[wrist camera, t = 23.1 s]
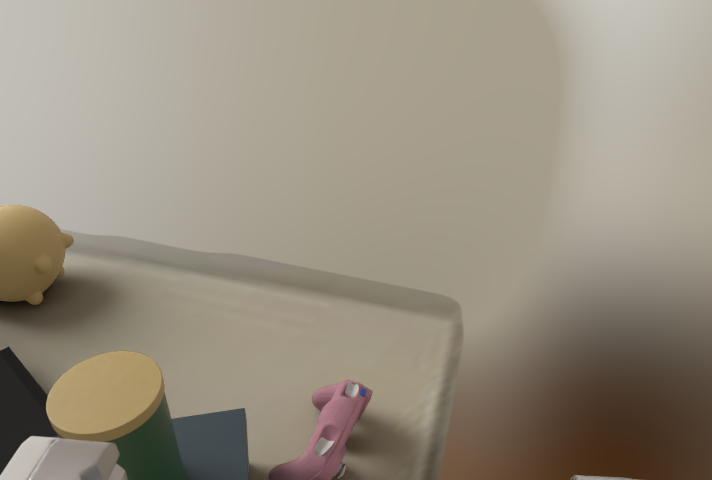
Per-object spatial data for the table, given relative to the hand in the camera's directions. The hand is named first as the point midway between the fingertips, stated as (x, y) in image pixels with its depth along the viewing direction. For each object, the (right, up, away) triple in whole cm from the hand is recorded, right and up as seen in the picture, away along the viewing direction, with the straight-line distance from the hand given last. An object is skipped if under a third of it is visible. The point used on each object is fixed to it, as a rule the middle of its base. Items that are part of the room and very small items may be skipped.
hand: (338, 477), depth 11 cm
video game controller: (-2, -13, +38) cm, 41 cm away
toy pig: (-37, -2, +56) cm, 67 cm away
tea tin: (-14, -13, +28) cm, 34 cm away
